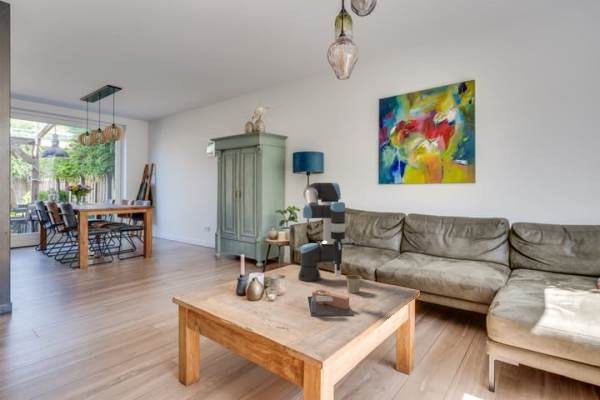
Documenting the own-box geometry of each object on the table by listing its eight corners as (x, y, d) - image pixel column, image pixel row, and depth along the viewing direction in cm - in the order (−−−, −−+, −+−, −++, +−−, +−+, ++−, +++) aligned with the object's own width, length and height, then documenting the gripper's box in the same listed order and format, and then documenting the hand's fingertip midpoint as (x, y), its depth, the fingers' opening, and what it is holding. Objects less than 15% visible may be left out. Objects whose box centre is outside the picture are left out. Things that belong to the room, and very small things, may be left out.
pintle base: (307, 298, 171) (307, 283, 170) (343, 297, 171) (343, 283, 171) (310, 316, 147) (310, 298, 146) (352, 315, 147) (352, 298, 147)
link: (312, 301, 163) (312, 292, 163) (319, 298, 168) (319, 288, 168) (344, 310, 151) (344, 300, 151) (350, 306, 156) (351, 296, 156)
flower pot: (360, 289, 186) (360, 275, 185) (362, 294, 176) (362, 279, 176) (345, 289, 187) (345, 274, 186) (345, 294, 177) (345, 279, 177)
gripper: (329, 229, 170) (328, 272, 171) (332, 233, 156) (332, 279, 157) (342, 229, 170) (342, 271, 171) (347, 233, 156) (347, 279, 157)
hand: (337, 275), depth 164 cm, fingers closed
